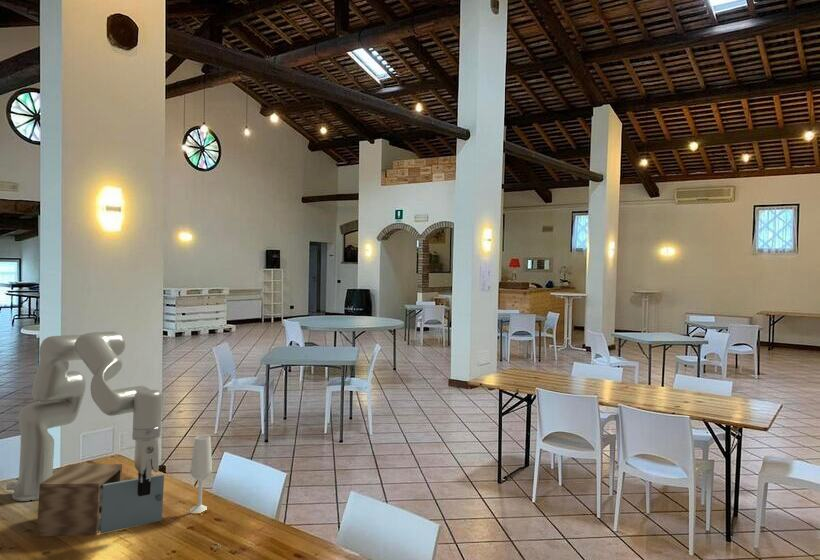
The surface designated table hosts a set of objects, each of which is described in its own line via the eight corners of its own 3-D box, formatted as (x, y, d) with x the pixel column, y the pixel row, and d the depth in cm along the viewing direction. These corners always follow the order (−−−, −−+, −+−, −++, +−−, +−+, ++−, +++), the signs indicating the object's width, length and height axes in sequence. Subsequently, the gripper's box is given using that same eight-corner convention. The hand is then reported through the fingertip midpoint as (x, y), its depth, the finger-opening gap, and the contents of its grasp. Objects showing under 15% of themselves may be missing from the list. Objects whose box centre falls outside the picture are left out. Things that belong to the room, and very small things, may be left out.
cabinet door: (97, 532, 154) (99, 484, 154) (160, 518, 165) (163, 474, 165) (98, 536, 152) (101, 487, 152) (162, 521, 163) (165, 476, 163)
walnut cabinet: (36, 536, 151) (39, 484, 152) (66, 511, 168) (68, 464, 169) (96, 535, 154) (98, 483, 154) (119, 510, 170) (122, 464, 171)
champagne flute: (185, 509, 173) (189, 436, 174) (206, 504, 178) (209, 433, 178) (192, 516, 168) (196, 441, 169) (213, 511, 173) (216, 438, 173)
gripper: (166, 436, 153) (163, 500, 152) (154, 425, 164) (151, 484, 164) (138, 440, 148) (134, 506, 148) (127, 428, 160) (124, 489, 159)
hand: (143, 494), depth 156 cm, fingers closed
